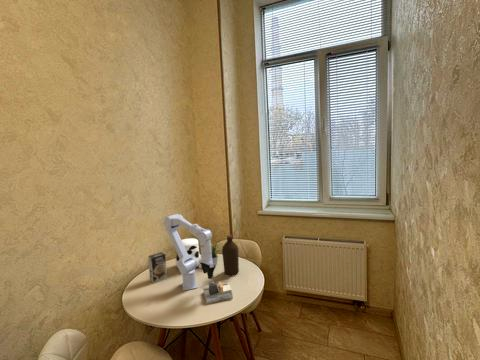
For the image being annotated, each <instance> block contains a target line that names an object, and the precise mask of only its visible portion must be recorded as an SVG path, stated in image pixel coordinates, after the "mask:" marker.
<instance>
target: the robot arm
mask: <svg viewBox="0 0 480 360" xmlns="http://www.w3.org/2000/svg"><path fill="white" fill-rule="evenodd" d="M163 219H164V220H163V226H164V227H165V231H166V233H167V235H168V237H169V239H170V241H171V243H172V246H173V248H174V250H175V253H176V252H177V253H176V255H177V254H178V256H179V261H178V266H179V268H178V271H179V272H180V275H181V276H182V283H181V286H182V291H188V290H194V289H197V288H198V286H197V282H196V273H195V271H196V268H198V267H197V262H196V260H195V259H194V258H193V256H191V255H189V254H188V253H187V251H186V249H185V247H184V245H183V243H182V240H183V239H181V236H180V234H179V233H178V228H180V227H183V228H185V229H186V230H188V231H189V233H190V234H191V235H193V236H194V237H196V238H197V240H198V243H199V245H200V253H201V254H200V257H201V260H200V261H199V262H200V266H201V269H202V272H203V274H207V278H208V279H210V280H211V279H213V277H214V271H215V270H216V267H217V266H215V265H213V261H212V252H211V245H212V238H213V232H212V230H210V229H209V228H207V229H206V228H203V227H201V226H200V225H199V224H197V223H191V222H189V221H188V220H187V219H185V218H184V217H183V214H180V213H175V214H172V215H168V216H165V217H164V218H163ZM186 260H187V261H186ZM184 261H186V262H184Z"/></svg>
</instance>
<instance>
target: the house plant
mask: <svg viewBox="0 0 480 360" xmlns="http://www.w3.org/2000/svg"><path fill="white" fill-rule="evenodd" d="M218 243H219V242H218V241H217V242H216V243H215V245H214V244H213V242H211V252H212V261H213V265H215V266H216V265H217V266H218V260H219V255H218V254H219V252H221V249H220V248H221V247H222V248H223V246H221V245H222V243H220V244H218ZM217 266H216V267H217Z"/></svg>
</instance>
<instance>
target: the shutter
mask: <svg viewBox="0 0 480 360" xmlns="http://www.w3.org/2000/svg"><path fill="white" fill-rule="evenodd" d="M222 284H223V283H222V282H221V281H218V285H219V289H220V292H221V293H222V292H227V291H231V292H233V289H232V288H231V285H230V284H228V285H224V286H222Z"/></svg>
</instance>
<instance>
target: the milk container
mask: <svg viewBox="0 0 480 360" xmlns="http://www.w3.org/2000/svg"><path fill="white" fill-rule="evenodd" d="M181 240H182V243H183V245H184V247H185V249H186V251H187V253H188V254H189V255H191V256H193V258H194V259H195V260H196V262H197V267H196V268H198V267H200V266H201V264H200V262H199V261H200V260H201V254H200V249H199V248H200V246H199V240H198V238H194V237H193V238H182V239H181ZM175 253H176V256H175V257H176V258H175V264H176V265H175V266H176V268H177V269H179V266H178V261H179V256H178V254H177V252H176V251H175ZM186 261H187V260H186ZM186 261H184V262H186Z"/></svg>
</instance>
